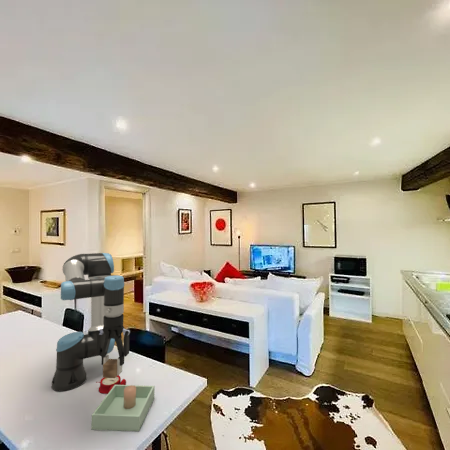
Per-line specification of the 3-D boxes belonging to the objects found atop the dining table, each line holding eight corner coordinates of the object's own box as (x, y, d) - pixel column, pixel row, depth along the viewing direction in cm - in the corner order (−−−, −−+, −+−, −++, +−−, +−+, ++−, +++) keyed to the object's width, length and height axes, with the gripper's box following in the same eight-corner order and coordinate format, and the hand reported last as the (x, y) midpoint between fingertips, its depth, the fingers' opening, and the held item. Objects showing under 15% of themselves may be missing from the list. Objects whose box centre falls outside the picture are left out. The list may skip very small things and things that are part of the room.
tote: (91, 429, 100) (91, 415, 100) (114, 397, 119) (114, 384, 119) (138, 431, 99) (139, 416, 99) (154, 398, 119) (154, 385, 119)
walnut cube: (102, 377, 101) (103, 364, 102) (109, 371, 106) (109, 358, 107) (115, 378, 101) (115, 365, 101) (121, 371, 106) (121, 359, 106)
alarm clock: (110, 371, 134) (131, 372, 127) (112, 384, 133) (132, 386, 127) (92, 382, 125) (113, 383, 118) (93, 396, 124) (115, 398, 117)
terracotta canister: (121, 408, 111) (122, 392, 111) (126, 401, 116) (126, 385, 116) (133, 409, 110) (133, 392, 111) (137, 401, 115) (137, 385, 116)
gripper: (86, 317, 102) (85, 377, 101) (131, 318, 101) (130, 379, 100) (97, 311, 109) (96, 367, 108) (139, 312, 108) (138, 369, 107)
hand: (112, 372), depth 104 cm, fingers closed on walnut cube, 5 cm apart
